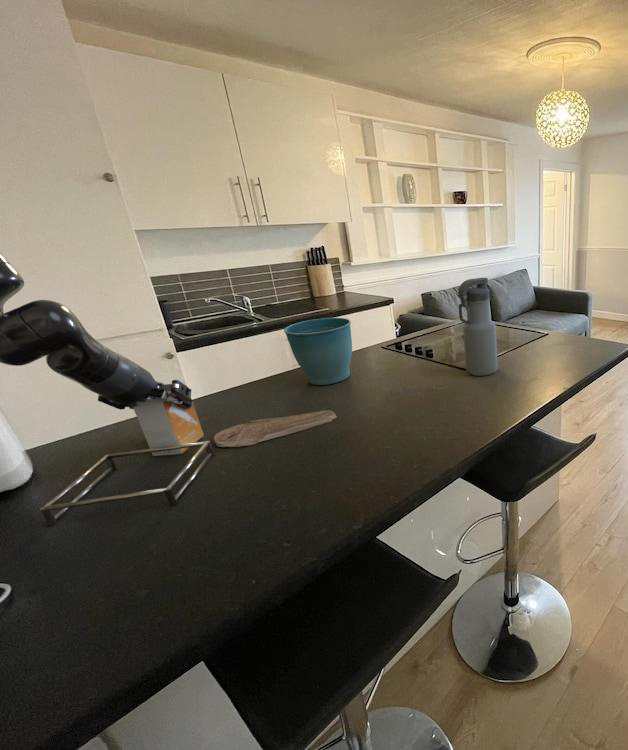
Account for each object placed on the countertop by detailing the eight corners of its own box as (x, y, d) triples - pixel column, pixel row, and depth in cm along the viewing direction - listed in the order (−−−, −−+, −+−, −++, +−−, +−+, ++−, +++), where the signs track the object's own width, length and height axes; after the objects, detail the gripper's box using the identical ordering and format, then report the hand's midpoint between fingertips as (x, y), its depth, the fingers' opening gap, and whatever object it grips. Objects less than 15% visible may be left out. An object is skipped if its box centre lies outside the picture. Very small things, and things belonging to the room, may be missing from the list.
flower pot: (286, 381, 125) (273, 327, 118) (341, 364, 137) (331, 314, 131) (315, 395, 114) (301, 337, 107) (371, 375, 126) (362, 322, 120)
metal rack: (47, 526, 68) (37, 509, 67) (112, 469, 83) (105, 454, 82) (175, 506, 72) (168, 489, 70) (215, 454, 87) (210, 439, 86)
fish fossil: (329, 405, 107) (329, 401, 107) (339, 423, 100) (338, 419, 99) (213, 434, 94) (212, 429, 94) (214, 456, 87) (213, 452, 86)
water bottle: (473, 379, 120) (467, 283, 109) (459, 369, 128) (452, 279, 117) (503, 372, 125) (500, 279, 114) (488, 363, 132) (483, 275, 122)
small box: (182, 454, 88) (161, 400, 83) (152, 456, 87) (129, 401, 82) (205, 435, 95) (187, 384, 90) (177, 437, 95) (157, 386, 90)
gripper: (162, 354, 77) (207, 387, 92) (72, 363, 74) (134, 395, 89) (156, 390, 74) (205, 418, 89) (63, 401, 71) (129, 428, 86)
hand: (169, 406), depth 89 cm, fingers closed on small box, 7 cm apart
